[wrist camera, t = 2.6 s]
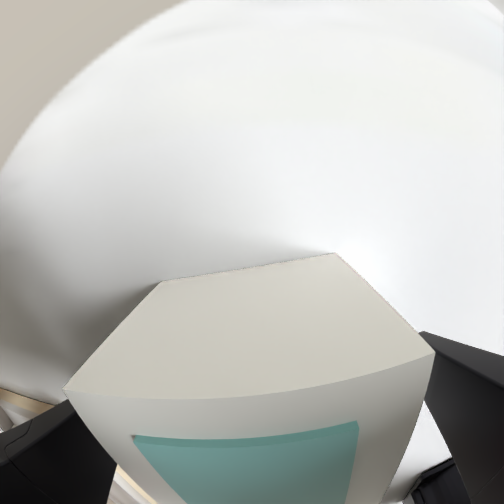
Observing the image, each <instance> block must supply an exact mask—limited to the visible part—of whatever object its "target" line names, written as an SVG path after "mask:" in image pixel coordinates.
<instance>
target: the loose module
mask: <svg viewBox="0 0 504 504" xmlns="http://www.w3.org/2000/svg"><path fill="white" fill-rule="evenodd" d="M434 357H435V351H434V350H433V349H432V348H431V347H430V346H429V344H428V343H427V342H426V341H425V340H424V339H423V338H422V337H421V336H420V335H419V334H418V333H417V332H416V331H415V330H414V328H413V327H412V326H411V325H410V324H409V323H408V322H407V321H406V320H405V319H404V318H403V317H402V316H401V315H400V314H399V313H398V312H397V311H396V310H395V309H394V308H393V307H392V306H391V305H390V304H389V303H388V302H387V301H386V300H385V299H384V298H383V297H382V296H381V295H380V294H379V293H378V292H377V291H376V290H375V289H374V288H373V287H372V286H371V285H370V284H369V283H368V282H367V281H366V280H365V279H363V278H362V277H361V276H360V275H359V274H358V273H357V272H356V271H355V270H354V269H353V268H352V267H351V266H350V265H349V264H348V263H346V262H345V261H344V260H343V259H342V258H341V257H340V256H339V255H338V254H337V253H332V254H326V255H320V256H315V257H309V258H303V259H297V260H291V261H285V262H279V263H274V264H267V265H261V266H255V267H249V268H243V269H237V270H231V271H224V272H218V273H212V274H205V275H199V276H193V277H186V278H179V279H173V280H166V281H161V282H160V283H159V284H158V285H157V286H156V287H155V288H154V289H153V290H152V291H151V292H150V293H149V294H148V295H147V296H146V297H145V298H144V299H143V300H142V301H141V302H140V303H139V304H138V305H137V307H136V308H135V309H134V310H133V311H132V312H131V313H130V314H129V315H128V316H127V317H126V318H125V319H124V320H123V321H122V322H121V323H120V324H119V326H118V327H117V328H116V329H115V330H114V331H113V332H112V333H111V334H110V335H109V336H108V337H107V338H106V340H105V341H104V342H103V343H102V344H101V345H100V346H99V347H98V348H97V349H96V351H95V352H94V353H93V354H92V355H91V356H90V357H89V358H88V359H87V361H86V362H85V363H84V364H83V365H82V366H81V367H80V369H79V370H78V371H77V372H76V373H75V374H74V375H73V377H72V378H71V379H70V380H69V381H68V382H67V384H66V385H65V386H64V387H63V388H62V390H63V391H64V393H65V395H66V396H67V398H68V400H69V401H70V403H71V404H72V406H73V407H74V409H75V410H76V412H77V413H78V415H79V416H80V418H81V419H82V420H83V422H84V423H85V425H86V426H87V427H88V429H89V430H90V431H91V433H92V434H93V435H94V436H95V438H96V439H97V440H98V442H99V443H100V444H101V445H102V447H103V448H104V449H105V450H106V451H107V453H108V454H109V455H110V456H111V457H112V458H113V459H114V461H115V462H116V463H117V464H118V465H119V466H120V467H121V468H122V469H123V470H124V471H125V473H126V474H127V475H128V476H129V477H130V478H131V479H132V480H133V481H134V482H135V483H136V484H137V485H138V486H139V487H140V488H141V489H143V490H144V491H145V492H146V493H147V494H148V495H149V496H150V497H151V498H152V499H153V500H155V501H156V502H157V503H158V504H379V503H380V501H381V500H382V498H383V496H384V494H385V493H386V491H387V489H388V487H389V485H390V483H391V481H392V479H393V477H394V475H395V473H396V471H397V469H398V467H399V465H400V462H401V460H402V458H403V456H404V453H405V451H406V448H407V446H408V444H409V441H410V438H411V436H412V433H413V430H414V428H415V425H416V422H417V419H418V416H419V413H420V410H421V407H422V404H423V400H424V397H425V394H426V390H427V386H428V383H429V379H430V375H431V370H432V366H433V362H434Z"/></svg>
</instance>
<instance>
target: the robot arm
mask: <svg viewBox="0 0 504 504" xmlns="http://www.w3.org/2000/svg"><path fill="white" fill-rule="evenodd" d="M418 334H419V335H420V336H421V337H422V338H423V339H424V340H425V341H426V342H427V343H428V344H429V346H430V347H431V348H432V349H433V350H434V351H435V357H434V362H433V366H432V370H431V375H430V379H429V383H428V386H427V390H426V394H425V397H424V401H425V403H426V405H427V407H428V409H429V410H430V412H431V414H432V416H433V418H434V420H435V422H436V424H437V426H438V428H439V430H440V432H441V434H442V436H443V438H444V440H445V442H446V444H447V446H448V448H449V451H450V453H451V455H452V457H453V459H452V460H450V461H448V462H446V463H444V464H442V465H440V466H438V467H436V468H434V469H432V470H430V471H428V472H426V473H424V474H423V475H421V476H420V477H419V479H418V480H417V482H416V483H415V485H414V486H413V488H412V489H411V491H410V492H409V494H408V495H407V496H406V498H405V499H404V500H403V502H402V503H403V504H504V356H501V355H498V354H495V353H491V352H488V351H485V350H482V349H478V348H475V347H472V346H469V345H465V344H462V343H459V342H456V341H453V340H450V339H446V338H443V337H440V336H437V335H434V334H431V333H428V332H425V331H422V332H419V333H418ZM116 468H117V463H116V462H115V461H114V459H113V458H112V457H111V456H110V455H109V454H108V453H107V451H106V450H105V449H104V448H103V447H102V445H101V444H100V443H99V442H98V440H97V439H96V438H95V436H94V435H93V434H92V433H91V431H90V430H89V429H88V427H87V426H86V425H85V423H84V422H83V420H82V419H81V418H80V416H79V415H78V413H77V412H76V410H75V409H74V407H73V406H72V404H71V403H70V401H69V400H68V399H67V400H65V401H63V402H62V403H60V404H58V405H56V406H54V407H52V408H51V409H49V410H47V411H45V412H43V413H41V414H39V415H38V416H36V417H34V418H32V419H30V420H28V421H26V422H24V423H22V424H20V425H18V426H16V427H14V428H12V429H9V430H7V431H5V432H2V433H0V504H107V501H108V497H109V493H110V490H111V486H112V482H113V478H114V475H115V471H116Z"/></svg>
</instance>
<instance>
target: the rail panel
mask: <svg viewBox="0 0 504 504" xmlns="http://www.w3.org/2000/svg"><path fill="white" fill-rule="evenodd" d="M52 407H54V405H51V404H47V403H43V402H40V401H37V400H33V399H30V398H27V397H24V396H21V395H18V394H15V393H12V392H10V391H7V390H4V389H2V388H0V427H1V429H2V430H3V431H4V432H5V431H7V430H9V429H12V428H14V427H16V426H18V425H20V424H22V423H24V422H26V421H28V420H30V419H32V418H34V417H36V416H38V415H39V414H41V413H43V412H45V411H47V410H49V409H51V408H52ZM107 504H158V503H157V502H156V501H155V500H153V499H152V498H151V497H150V496H149V495H148V494H147V493H146V492H145V491H144V490H143V489H141V488H140V487H139V486H138V485H137V484H136V483H135V482H134V481H133V480H132V479H131V478H130V477H129V476H128V475H127V474H126V473H125V471H124V470H123V469H122V468H121V467H120V466H119V465H118V464H117V468H116V471H115V475H114V478H113V482H112V486H111V490H110V493H109V497H108V501H107Z"/></svg>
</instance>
